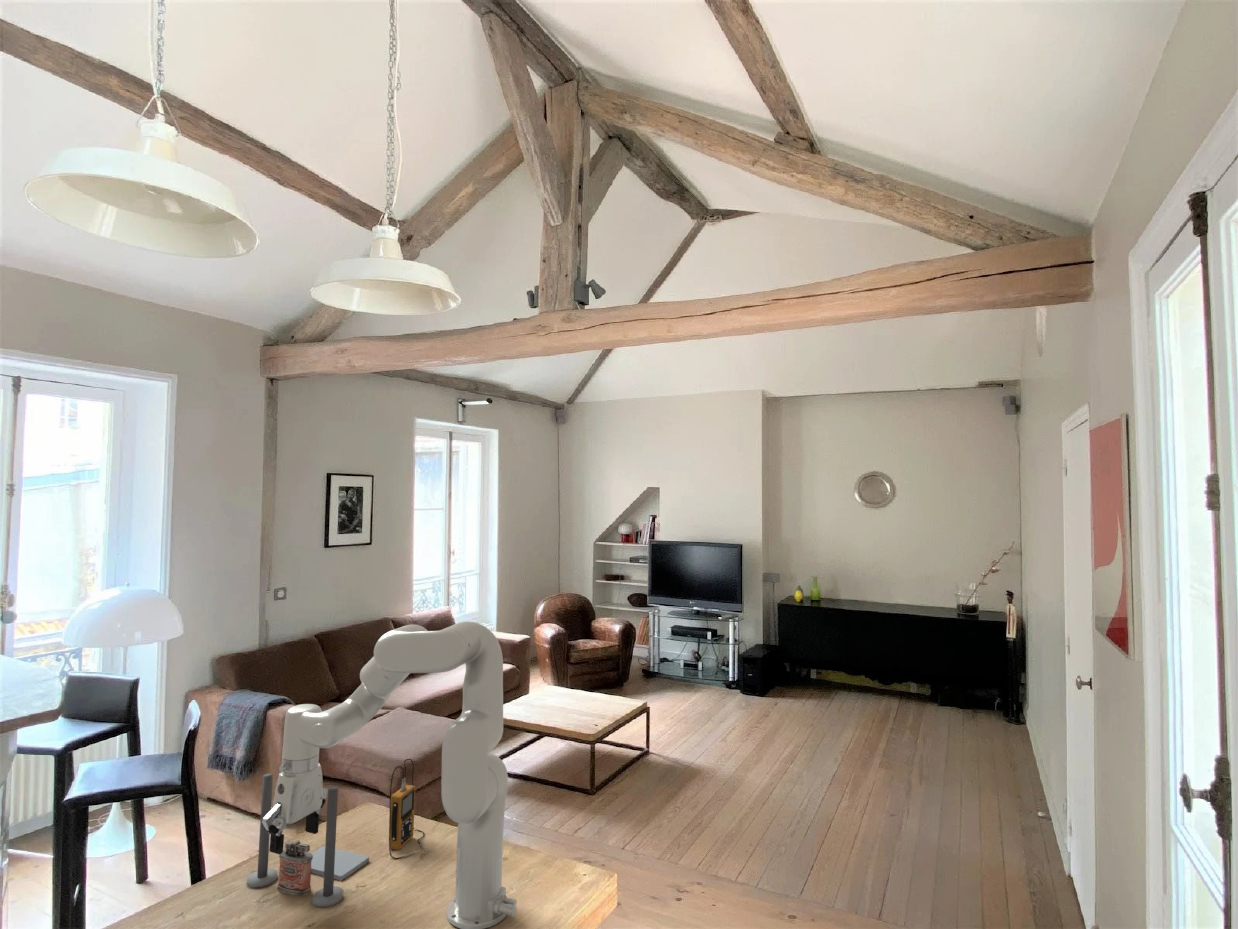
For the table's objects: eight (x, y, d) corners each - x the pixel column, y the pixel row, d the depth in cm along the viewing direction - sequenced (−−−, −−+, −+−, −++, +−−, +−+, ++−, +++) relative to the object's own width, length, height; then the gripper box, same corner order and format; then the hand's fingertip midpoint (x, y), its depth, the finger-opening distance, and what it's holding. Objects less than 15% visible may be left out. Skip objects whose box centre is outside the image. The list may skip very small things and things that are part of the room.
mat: (369, 861, 157) (369, 857, 157) (341, 881, 149) (341, 876, 149) (323, 850, 162) (323, 846, 162) (293, 868, 153) (294, 863, 154)
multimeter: (418, 863, 157) (421, 776, 158) (380, 857, 159) (383, 772, 160) (446, 833, 171) (449, 754, 173) (411, 829, 173) (414, 751, 175)
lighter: (273, 890, 144) (276, 843, 145) (285, 882, 148) (287, 836, 148) (303, 897, 142) (305, 849, 143) (314, 888, 145) (317, 842, 146)
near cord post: (349, 894, 143) (354, 785, 145) (328, 910, 138) (333, 796, 139) (327, 888, 145) (332, 781, 147) (306, 903, 140) (311, 792, 142)
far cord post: (283, 876, 150) (288, 772, 152) (260, 890, 144) (266, 782, 146) (263, 871, 152) (269, 768, 154) (240, 884, 146) (246, 778, 148)
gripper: (280, 780, 138) (274, 865, 136) (342, 753, 154) (336, 828, 153) (254, 774, 140) (247, 857, 139) (317, 747, 156) (311, 822, 155)
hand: (294, 842), depth 146 cm, fingers open, 9 cm apart
